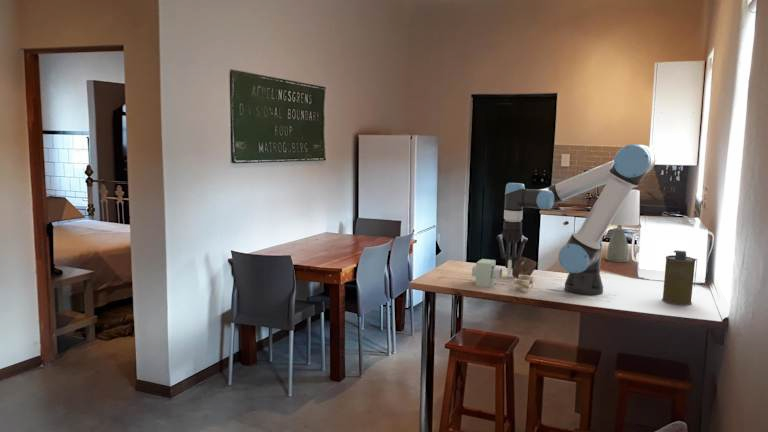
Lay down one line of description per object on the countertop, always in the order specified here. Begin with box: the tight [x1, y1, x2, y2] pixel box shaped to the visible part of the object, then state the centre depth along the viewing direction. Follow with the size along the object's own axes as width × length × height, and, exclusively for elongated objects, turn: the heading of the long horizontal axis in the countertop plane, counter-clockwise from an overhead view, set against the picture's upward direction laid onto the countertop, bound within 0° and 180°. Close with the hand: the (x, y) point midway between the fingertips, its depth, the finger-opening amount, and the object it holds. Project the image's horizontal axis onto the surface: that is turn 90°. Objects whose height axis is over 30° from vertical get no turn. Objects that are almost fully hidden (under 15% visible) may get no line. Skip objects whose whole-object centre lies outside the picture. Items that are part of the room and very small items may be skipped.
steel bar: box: [471, 264, 503, 280], centre depth 253 cm, size 12×4×4 cm, turn 66°
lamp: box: [605, 188, 641, 263], centre depth 309 cm, size 19×19×37 cm
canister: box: [661, 250, 698, 306], centre depth 231 cm, size 11×10×20 cm
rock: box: [509, 255, 538, 279], centre depth 265 cm, size 12×10×10 cm
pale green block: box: [475, 258, 497, 288], centre depth 254 cm, size 6×9×10 cm, turn 156°
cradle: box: [513, 274, 534, 293], centre depth 247 cm, size 6×11×4 cm, turn 156°
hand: (509, 275), depth 249 cm, fingers closed
